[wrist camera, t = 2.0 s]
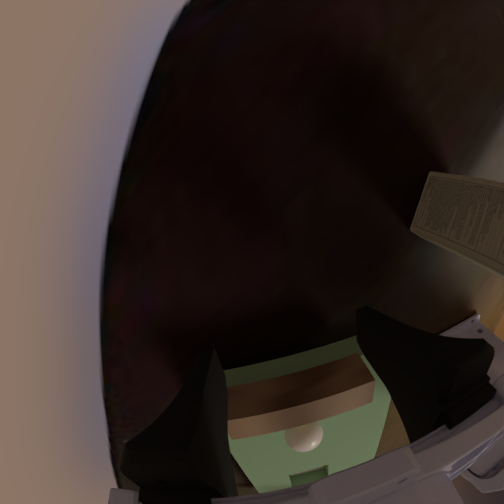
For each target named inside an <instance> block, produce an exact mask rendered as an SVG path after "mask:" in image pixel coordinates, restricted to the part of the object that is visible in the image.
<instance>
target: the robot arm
mask: <svg viewBox="0 0 504 504" xmlns="http://www.w3.org/2000/svg"><path fill="white" fill-rule="evenodd" d="M479 318H480V315H479V314H478V313H477V314H475V315H473V316H472V317H470V318H468V319H466V320H465V321H463V322H461V323H459V324H458V325H456V326H454V327H452V328H450V329H448V330H447V331H445V332H443V333H441V334H439V335H437V334H433V333H429V332H426V331H422V330H419V329H416V328H414V327H411V326H408V325H406V324H404V323H401V322H399V321H397V320H395V319H392V318H390V317H388V316H386V315H384V314H382V313H380V312H378V311H376V310H374V309H372V308H370V307H368V306H366V307H363V308H360V309H357V310H356V326H357V336H356V340H357V343H358V345H359V347H360V349H361V351H362V353H363V354H364V356H365V358H366V359H367V361H368V362H369V363H370V365H371V366H372V368H373V369H374V371H375V372H376V374H377V375H378V376H379V378H380V379H381V381H382V382H383V384H384V385H385V387H386V388H387V390H388V392H389V394H390V396H391V398H392V400H393V402H394V404H395V406H396V408H397V410H398V413H399V415H400V417H401V419H402V422H403V424H404V427H405V429H406V432H407V435H408V438H409V441H410V444H409V445H407V446H405V447H400V448H397V449H395V450H392V451H390V452H387V453H385V454H383V455H381V456H378V457H376V458H374V459H371V460H369V461H366V462H364V463H361V464H359V465H356V466H353V467H351V468H348V469H345V470H342V471H339V472H336V473H333V474H331V475H328V476H325V477H323V478H321V479H319V480H317V481H315V482H311V483H307V484H303V485H299V486H295V487H291V488H286V489H281V490H276V491H271V492H265V493H259V494H252V495H244V496H238V492H237V487H236V483H235V478H234V472H233V467H232V461H231V454H230V447H229V440H228V392H227V384H226V376H225V373H224V371H223V368H222V366H221V363H220V361H219V358H218V356H217V353H216V350H215V348H214V347H211V348H205V349H202V350H201V352H200V354H199V356H198V358H197V360H196V362H195V364H194V366H193V368H192V370H191V372H190V374H189V376H188V378H187V380H186V381H185V383H184V385H183V386H182V388H181V389H180V391H179V393H178V394H177V395H176V397H175V398H174V400H173V401H172V402H171V404H170V405H169V406H168V407H167V408H166V410H165V411H164V412H163V413H162V414H161V415H160V416H159V417H158V418H157V419H156V420H155V421H154V422H153V423H152V424H151V425H150V426H148V427H147V428H146V429H145V430H144V431H142V432H141V433H140V434H138V435H137V436H136V437H134V438H133V439H131V440H130V441H128V442H127V443H125V446H124V450H123V454H122V459H121V464H120V470H121V472H122V473H123V474H124V475H125V476H126V477H127V478H129V479H130V480H131V481H133V482H134V483H135V484H137V485H138V486H139V487H140V492H139V493H138V492H136V491H132V490H124V489H117V488H111V490H110V495H109V501H108V504H464V503H463V501H462V500H461V498H460V496H459V494H458V493H457V491H456V489H455V487H454V485H453V484H452V482H451V480H452V479H454V478H455V477H456V476H458V475H459V474H460V475H461V476H462V477H464V478H465V479H466V480H469V481H470V482H471V483H472V484H473V485H474V486H475V487H476V488H477V489H478V490H480V491H481V493H489V492H494V491H499V490H504V461H503V460H504V342H503V341H502V340H501V339H499V338H498V337H497V336H496V335H495V334H494V333H492V332H491V331H490V330H489V329H488V328H486V327H485V326H484V325H483V324H481V323H480V322H479ZM502 461H503V462H502Z"/></svg>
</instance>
